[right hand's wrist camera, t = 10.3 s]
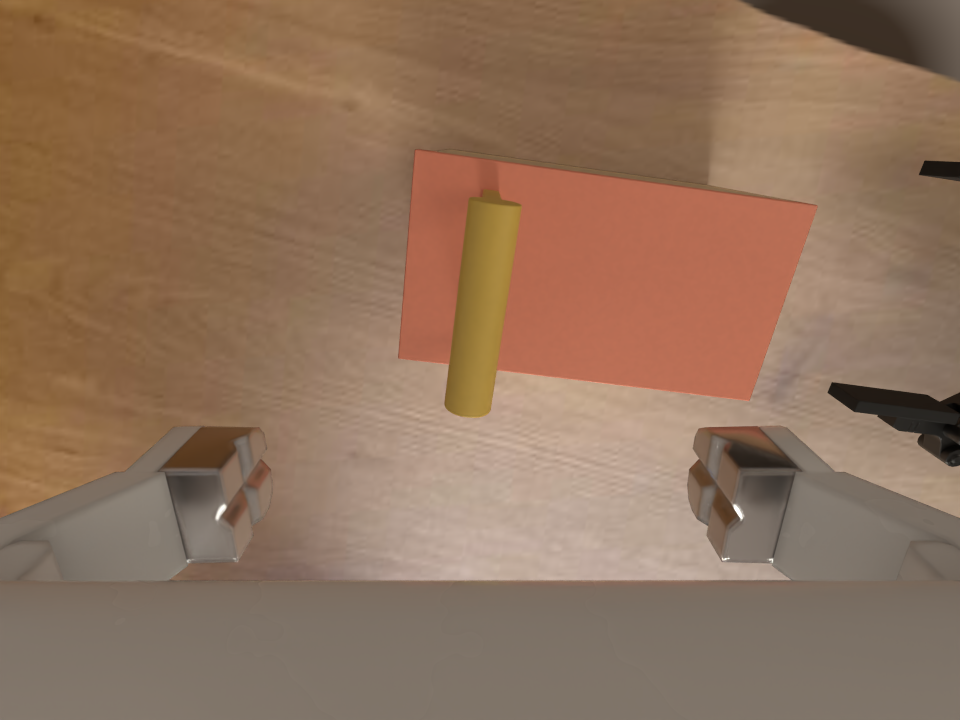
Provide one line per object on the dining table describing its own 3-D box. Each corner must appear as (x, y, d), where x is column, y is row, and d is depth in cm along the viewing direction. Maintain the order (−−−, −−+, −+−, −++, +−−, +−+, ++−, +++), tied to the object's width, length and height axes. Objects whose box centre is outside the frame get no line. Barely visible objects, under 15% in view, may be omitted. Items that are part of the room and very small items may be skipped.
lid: (401, 350, 27) (369, 432, 20) (417, 149, 24) (387, 151, 16) (739, 391, 28) (837, 486, 20) (804, 202, 25) (952, 230, 17)
